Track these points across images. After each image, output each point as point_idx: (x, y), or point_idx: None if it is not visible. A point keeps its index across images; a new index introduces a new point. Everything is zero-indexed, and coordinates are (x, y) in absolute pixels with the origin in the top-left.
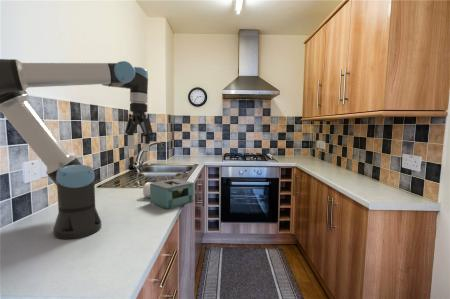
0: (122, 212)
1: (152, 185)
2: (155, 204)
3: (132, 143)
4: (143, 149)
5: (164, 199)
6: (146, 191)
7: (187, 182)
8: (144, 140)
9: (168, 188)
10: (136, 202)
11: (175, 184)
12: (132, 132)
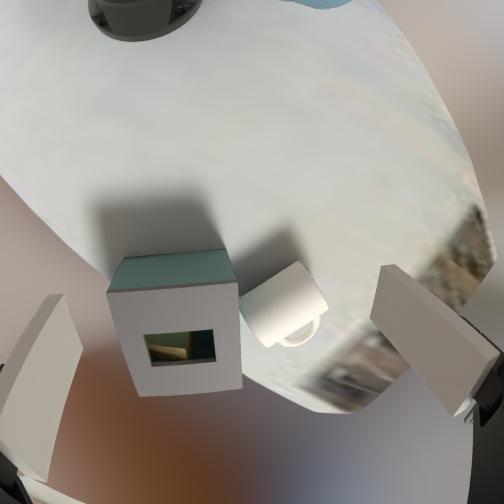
0: (197, 128)
1: (216, 281)
2: (192, 252)
3: (404, 338)
4: (44, 306)
5: (131, 269)
6: (288, 272)
7: (154, 387)
8: (1, 388)
9: (108, 300)
10: (269, 215)
11: (178, 355)
12: (482, 428)
